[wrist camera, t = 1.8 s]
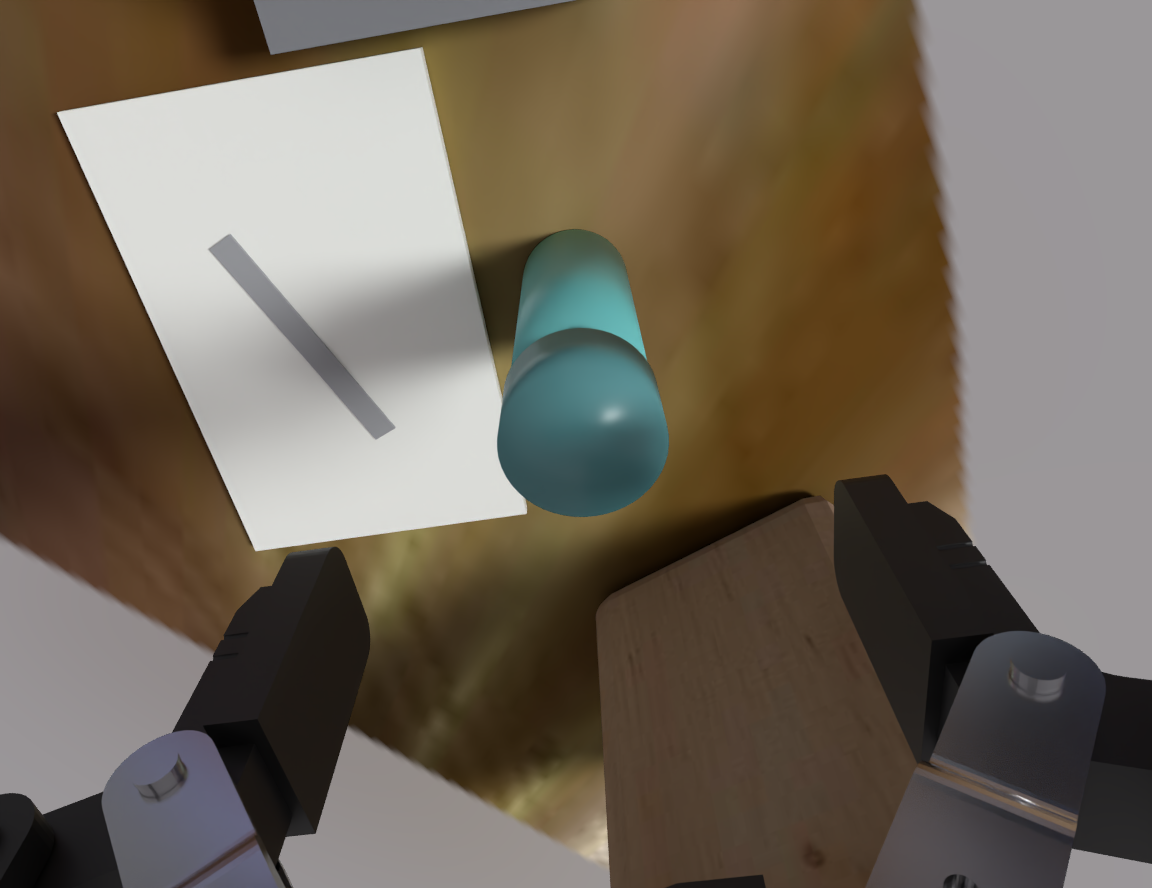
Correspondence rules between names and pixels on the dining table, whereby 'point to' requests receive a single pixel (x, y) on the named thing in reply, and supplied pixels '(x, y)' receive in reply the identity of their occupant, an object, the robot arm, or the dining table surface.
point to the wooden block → (746, 717)
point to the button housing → (366, 18)
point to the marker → (580, 384)
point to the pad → (311, 293)
